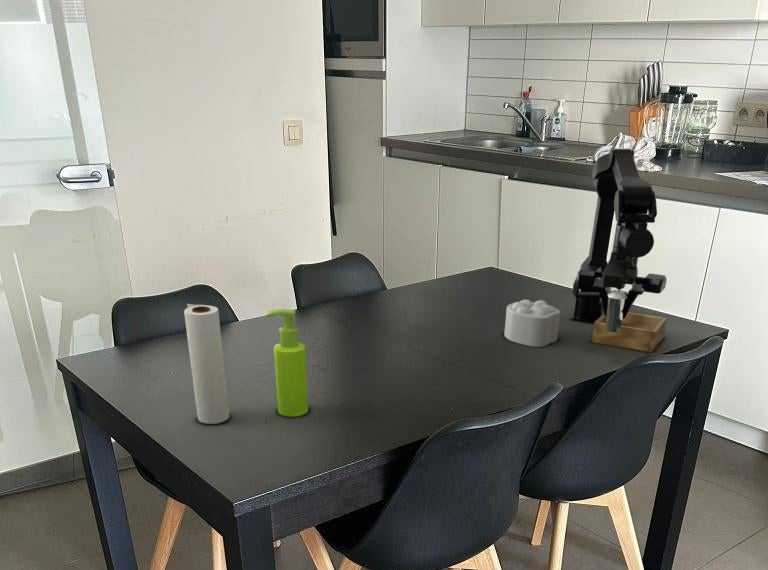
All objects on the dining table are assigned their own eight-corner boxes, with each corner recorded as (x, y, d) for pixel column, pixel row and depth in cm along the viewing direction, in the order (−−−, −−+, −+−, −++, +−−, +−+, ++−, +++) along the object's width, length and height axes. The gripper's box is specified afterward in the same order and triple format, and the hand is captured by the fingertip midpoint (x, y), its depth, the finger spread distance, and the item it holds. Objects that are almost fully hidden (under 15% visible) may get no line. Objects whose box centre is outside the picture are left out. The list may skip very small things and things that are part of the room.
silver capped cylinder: (623, 327, 180) (630, 284, 175) (621, 334, 176) (629, 290, 170) (603, 325, 181) (610, 282, 176) (601, 332, 177) (608, 288, 172)
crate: (591, 342, 190) (594, 322, 187) (605, 328, 199) (608, 309, 197) (651, 352, 184) (655, 331, 181) (663, 337, 193) (667, 318, 191)
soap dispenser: (273, 405, 155) (266, 306, 144) (308, 404, 155) (303, 305, 145) (272, 417, 150) (265, 315, 139) (308, 416, 150) (303, 314, 140)
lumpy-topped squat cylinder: (538, 348, 185) (542, 313, 181) (494, 336, 193) (497, 302, 189) (561, 338, 192) (566, 304, 187) (518, 327, 199) (522, 293, 195)
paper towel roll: (228, 424, 147) (216, 313, 136) (195, 425, 146) (181, 314, 135) (231, 409, 153) (220, 301, 142) (200, 410, 152) (187, 302, 141)
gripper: (573, 248, 167) (564, 319, 175) (661, 259, 159) (647, 333, 167) (588, 239, 175) (579, 307, 183) (673, 248, 167) (659, 319, 175)
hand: (614, 316), depth 177 cm, fingers closed on silver capped cylinder, 4 cm apart
